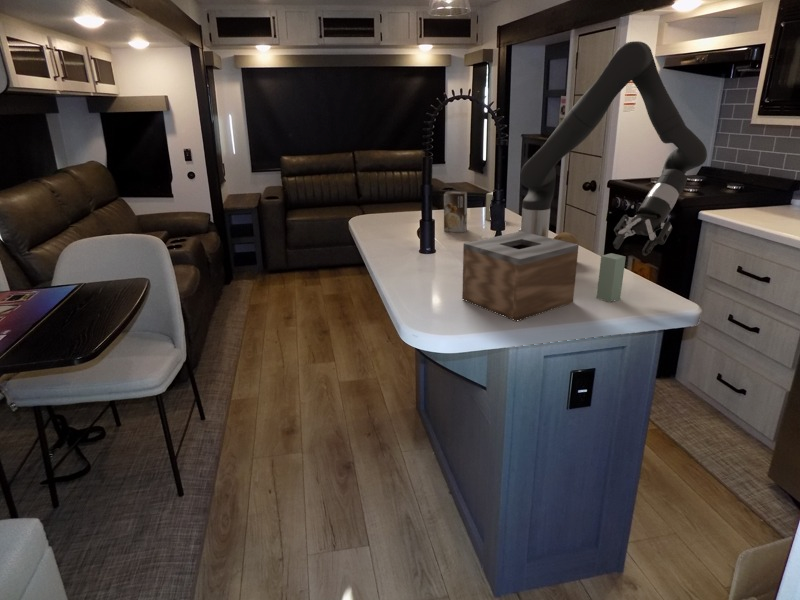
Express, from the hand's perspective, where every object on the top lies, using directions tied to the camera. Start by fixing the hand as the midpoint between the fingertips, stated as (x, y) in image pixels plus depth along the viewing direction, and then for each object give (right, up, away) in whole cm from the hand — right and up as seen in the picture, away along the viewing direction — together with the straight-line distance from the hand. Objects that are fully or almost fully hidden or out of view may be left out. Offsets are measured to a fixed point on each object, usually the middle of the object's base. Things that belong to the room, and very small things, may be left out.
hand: (629, 250), depth 147 cm
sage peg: (-6, -13, 0) cm, 14 cm away
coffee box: (-39, +16, +82) cm, 92 cm away
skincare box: (-20, +24, +102) cm, 106 cm away
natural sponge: (-7, -1, +35) cm, 36 cm away
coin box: (-31, -14, 0) cm, 34 cm away
